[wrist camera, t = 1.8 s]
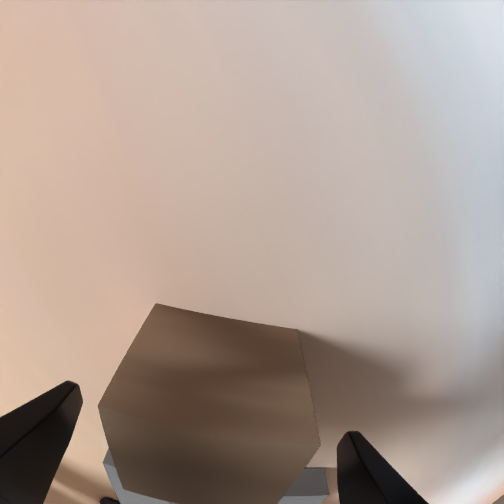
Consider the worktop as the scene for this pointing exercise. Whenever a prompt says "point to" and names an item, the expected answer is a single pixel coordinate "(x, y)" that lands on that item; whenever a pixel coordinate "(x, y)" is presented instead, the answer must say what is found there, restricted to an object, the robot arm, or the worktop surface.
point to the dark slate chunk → (108, 501)
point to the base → (295, 500)
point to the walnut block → (210, 410)
